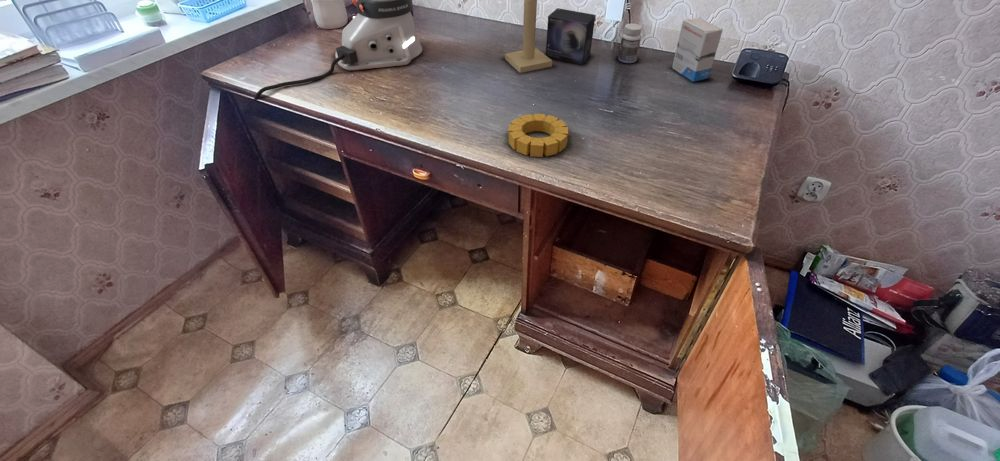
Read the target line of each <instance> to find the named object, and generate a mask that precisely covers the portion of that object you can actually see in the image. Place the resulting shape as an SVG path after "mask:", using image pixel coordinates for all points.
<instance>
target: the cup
mask: <svg viewBox="0 0 1000 461" xmlns="http://www.w3.org/2000/svg"><path fill="white" fill-rule="evenodd" d="M310 1H311V4H312V11H313V17H314V20H315V23H316V24H317V26H318V28H320V29H323V30H336V29H341V28H343V27H346V26H347V25H348V19H349V18H348V13H347V12H348V11H347V9H346V8H347V7H346V5H345V2H344V1H345V0H310Z"/></svg>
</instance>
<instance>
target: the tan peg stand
mask: <svg viewBox="0 0 1000 461" xmlns="http://www.w3.org/2000/svg"><path fill="white" fill-rule="evenodd" d="M537 9H538V0H523V28H522V49H521V50H516V51H511V52H507V53H506V52H505V53H504V60H505V61H506V62H507V63H509V65H510V66H512V67H513V68H514V69H515V70H516V71H517V72H518V73H519V74H522V73H528V72H532V71H538V70H541V69H547V68H552V67H553V60H552V58H550V57H547V56H546V54H545V53H543V52H542V51H541V50H540V49H538V48H537V47H536V31H537V30H536V29H537Z"/></svg>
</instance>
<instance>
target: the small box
mask: <svg viewBox="0 0 1000 461" xmlns="http://www.w3.org/2000/svg"><path fill="white" fill-rule="evenodd" d="M596 18H597V15H596V14H592V13H588V12H582V11H575V10H570V9H565V8H559V7H558V8H555V9H554V10H553V11H552V12H551V13H550V14H549V15H547V28H546V43H545V55H546V56H547V57H548V58H550V59H556V60H559V61H564V62H570V63H572V64H573V63H574V64H577V65H584V64H585V63H586V62H587V61H588V59H589V58H590V57H591V55H592V54H591V52H592V44H593V37H594V28H595V23H596Z"/></svg>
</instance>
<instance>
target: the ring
mask: <svg viewBox="0 0 1000 461" xmlns="http://www.w3.org/2000/svg"><path fill="white" fill-rule="evenodd" d="M533 132H541V133H545V134H548V135H549V136H545V137H533V136H530V135H528V134H529V133H533ZM507 137H508V138H507V141H508V145H510V147H511V148H512V149H513V150H514V151H515V150H516V152H517V153H519V154H522V155H524V156H528V155H529V156H530V157H534V158H535V157H538V158H543V156H545V157H550V156H553V155H557V154H558V153H561V152H562V151H563V150H564V149H565V148H567V145H568V140H569V126H568V125H567V123H566V122H564V121H563V119H560V118H559V117H556V116H553V115H550V114H547V116H546V114H545V113H533V114H531V113H529V114H524V115H519V117H516V118H515V119H513V120H512V121H510V123H509V125H508V130H507Z"/></svg>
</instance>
